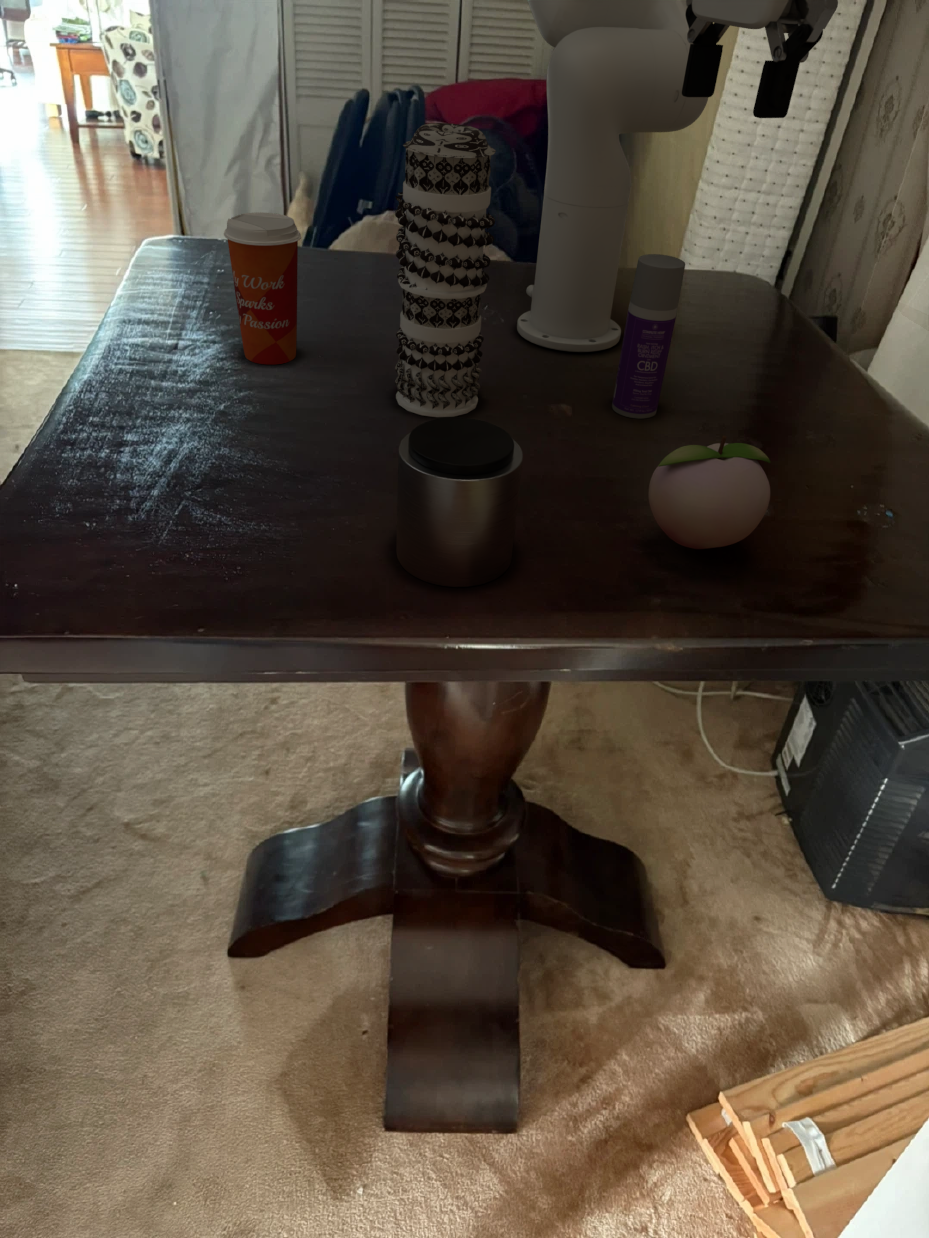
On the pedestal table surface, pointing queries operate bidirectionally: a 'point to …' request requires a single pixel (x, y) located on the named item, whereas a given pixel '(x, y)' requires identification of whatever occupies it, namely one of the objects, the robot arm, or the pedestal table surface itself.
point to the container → (648, 335)
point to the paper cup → (265, 284)
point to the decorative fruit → (710, 494)
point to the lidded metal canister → (457, 501)
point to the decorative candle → (442, 268)
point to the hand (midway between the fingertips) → (731, 106)
